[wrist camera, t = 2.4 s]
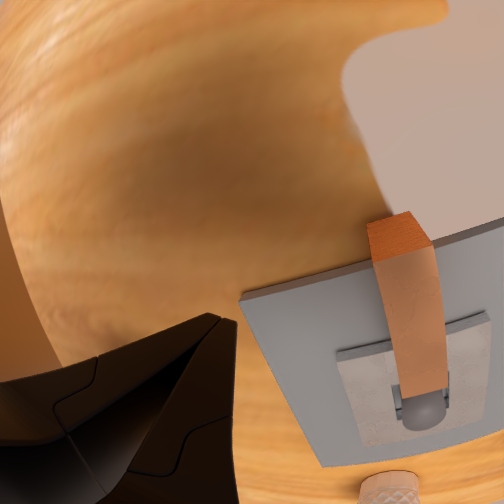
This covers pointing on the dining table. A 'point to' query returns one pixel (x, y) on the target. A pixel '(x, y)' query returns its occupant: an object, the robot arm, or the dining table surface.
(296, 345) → the slate board
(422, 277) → the flange plate
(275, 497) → the dining table surface
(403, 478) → the white cup
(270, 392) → the dining table surface
